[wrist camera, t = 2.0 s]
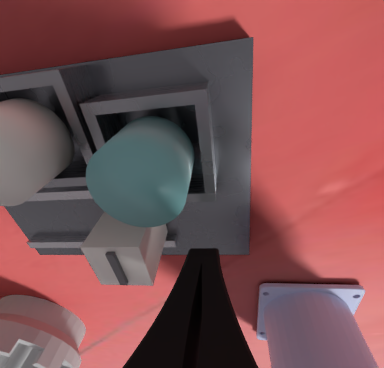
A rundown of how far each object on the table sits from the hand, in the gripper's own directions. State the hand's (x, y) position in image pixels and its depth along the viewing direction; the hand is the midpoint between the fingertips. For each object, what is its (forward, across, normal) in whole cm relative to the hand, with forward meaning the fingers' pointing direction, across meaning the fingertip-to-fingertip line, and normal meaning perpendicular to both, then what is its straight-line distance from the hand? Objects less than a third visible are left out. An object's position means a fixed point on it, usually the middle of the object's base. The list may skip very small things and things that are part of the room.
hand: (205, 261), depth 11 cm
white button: (+2, +7, -6) cm, 10 cm away
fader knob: (+4, +4, 0) cm, 6 cm away
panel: (+5, +6, -2) cm, 8 cm away
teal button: (+2, +2, -5) cm, 6 cm away
